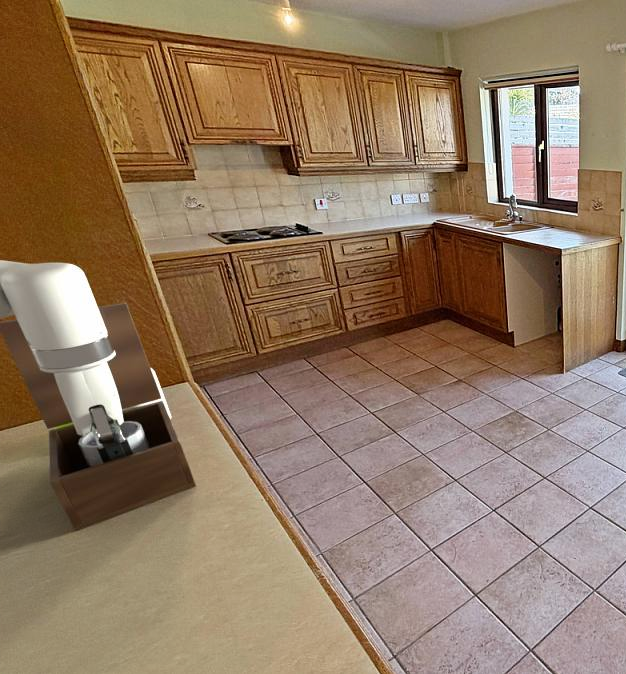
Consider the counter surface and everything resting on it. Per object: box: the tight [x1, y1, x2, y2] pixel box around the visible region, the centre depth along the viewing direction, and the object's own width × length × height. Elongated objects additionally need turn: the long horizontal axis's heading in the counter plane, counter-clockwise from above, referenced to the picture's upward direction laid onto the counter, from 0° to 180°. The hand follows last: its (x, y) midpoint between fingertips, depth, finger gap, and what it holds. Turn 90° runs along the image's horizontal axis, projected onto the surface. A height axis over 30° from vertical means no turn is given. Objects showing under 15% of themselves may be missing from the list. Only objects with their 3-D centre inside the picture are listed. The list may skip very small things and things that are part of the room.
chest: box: [48, 401, 197, 532], centre depth 75 cm, size 17×14×9 cm
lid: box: [0, 302, 162, 430], centre depth 77 cm, size 18×14×5 cm
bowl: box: [78, 421, 149, 467], centre depth 73 cm, size 7×7×4 cm
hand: (118, 453), depth 74 cm, fingers closed on bowl, 7 cm apart
